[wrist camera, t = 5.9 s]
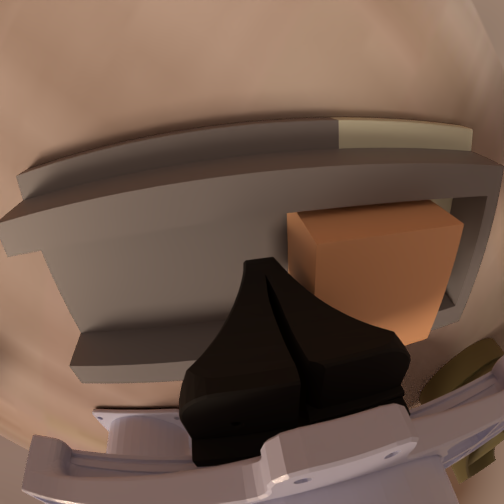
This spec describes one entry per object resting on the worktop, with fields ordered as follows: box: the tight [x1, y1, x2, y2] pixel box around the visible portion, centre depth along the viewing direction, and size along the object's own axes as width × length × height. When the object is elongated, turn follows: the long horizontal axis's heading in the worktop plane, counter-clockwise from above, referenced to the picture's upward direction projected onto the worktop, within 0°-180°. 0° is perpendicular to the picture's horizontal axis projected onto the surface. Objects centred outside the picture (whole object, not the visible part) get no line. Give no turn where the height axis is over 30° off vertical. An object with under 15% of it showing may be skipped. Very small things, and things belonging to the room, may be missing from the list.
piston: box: [419, 338, 504, 484], centre depth 21 cm, size 11×12×11 cm
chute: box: [0, 117, 504, 383], centre depth 13 cm, size 12×22×4 cm, turn 95°
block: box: [287, 200, 464, 346], centre depth 12 cm, size 6×6×4 cm
